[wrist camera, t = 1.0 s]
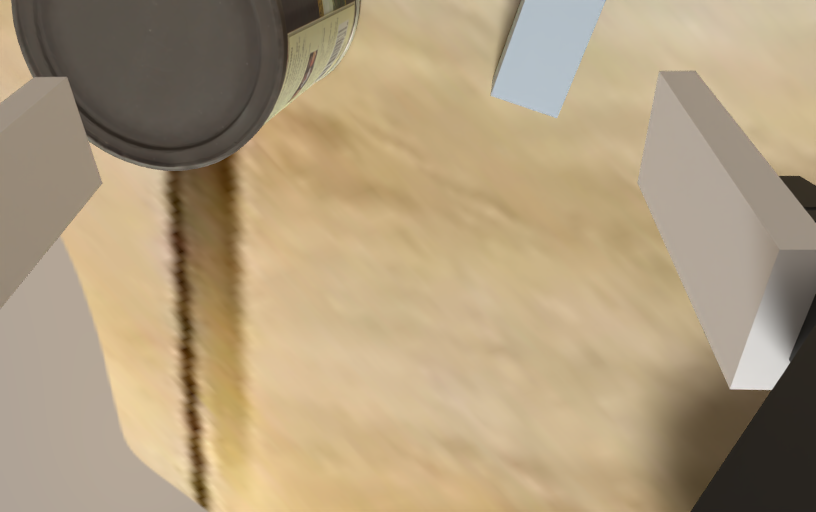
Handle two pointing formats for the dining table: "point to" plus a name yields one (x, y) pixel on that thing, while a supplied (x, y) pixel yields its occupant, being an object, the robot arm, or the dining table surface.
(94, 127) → the coffee can
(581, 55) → the blue grey brick
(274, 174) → the dining table surface
